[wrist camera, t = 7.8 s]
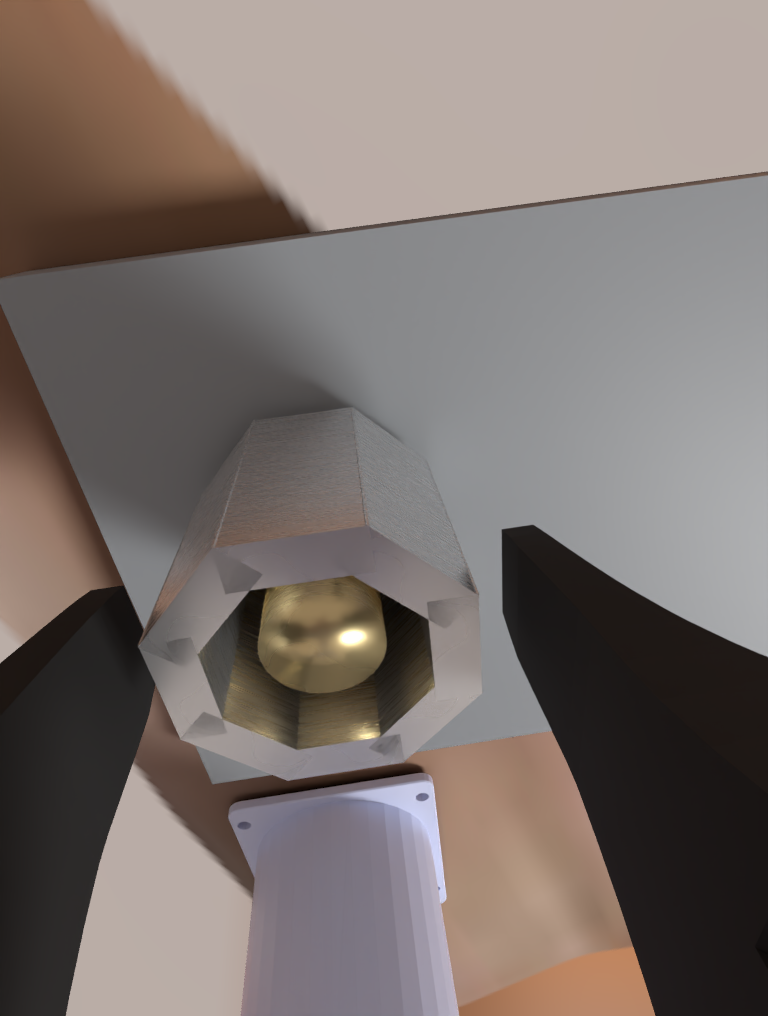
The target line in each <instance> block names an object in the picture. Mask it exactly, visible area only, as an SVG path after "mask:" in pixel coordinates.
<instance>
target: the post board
mask: <svg viewBox="0 0 768 1016" xmlns="http://www.w3.org/2000/svg"><path fill="white" fill-rule="evenodd" d="M0 305H1V307H2V309H3V311H4V314H5V316H6V318H7V320H8V323H9V325H10V327H11V329H12V332H13V334H14V336H15V339H16V341H17V343H18V345H19V348H20V350H21V352H22V354H23V357H24V359H25V361H26V363H27V366H28V368H29V370H30V372H31V375H32V377H33V379H34V382H35V384H36V386H37V388H38V391H39V393H40V395H41V397H42V400H43V402H44V404H45V406H46V409H47V411H48V413H49V415H50V418H51V420H52V422H53V424H54V427H55V429H56V431H57V434H58V436H59V438H60V440H61V443H62V445H63V447H64V449H65V452H66V454H67V456H68V458H69V461H70V463H71V465H72V467H73V470H74V472H75V474H76V477H77V479H78V481H79V483H80V486H81V488H82V490H83V492H84V495H85V497H86V499H87V501H88V504H89V506H90V508H91V510H92V513H93V515H94V517H95V520H96V522H97V524H98V526H99V529H100V531H101V533H102V535H103V538H104V540H105V542H106V544H107V547H108V549H109V551H110V553H111V556H112V558H113V560H114V563H115V565H116V567H117V569H118V572H119V574H120V576H121V578H122V581H123V583H124V585H125V587H126V590H127V592H128V594H129V596H130V599H131V601H132V603H133V606H134V608H135V610H136V612H137V615H138V617H139V619H140V621H141V624H142V626H143V628H144V629H145V627H146V625H147V622H148V620H149V617H150V615H151V613H152V610H153V608H154V606H155V603H156V601H157V598H158V596H159V594H160V591H161V589H162V586H163V584H164V582H165V579H166V577H167V575H168V572H169V570H170V567H171V565H172V563H173V560H174V558H175V555H176V553H177V551H178V548H179V546H180V544H181V541H182V539H183V536H184V534H185V532H186V529H187V527H188V524H189V522H190V520H191V517H192V515H193V513H194V510H195V508H196V505H197V503H198V501H199V498H200V496H201V494H202V491H204V490H205V488H206V487H207V485H208V484H209V483H210V481H211V480H212V478H213V477H214V476H215V474H216V473H217V471H218V470H219V468H220V467H221V466H222V464H223V463H224V461H225V460H226V459H227V457H228V456H229V454H230V453H231V452H232V450H233V449H234V447H235V446H236V444H237V443H238V442H239V440H240V439H241V437H242V436H243V435H244V433H245V432H246V430H247V429H248V428H249V426H250V425H251V423H252V421H253V420H261V419H269V418H276V417H283V416H290V415H297V414H304V413H311V412H318V411H326V410H333V409H340V408H347V407H351V406H352V407H353V408H355V409H356V410H357V411H359V412H360V413H361V414H363V415H364V416H366V417H367V418H368V419H370V420H371V421H373V422H374V423H375V424H377V425H378V426H380V427H381V428H382V429H384V430H385V431H387V432H388V433H389V434H391V435H392V436H394V437H395V438H396V439H398V440H399V441H400V442H402V443H403V444H405V445H406V446H407V447H409V448H410V449H412V450H413V451H414V452H416V453H417V454H419V455H420V456H421V457H423V458H424V459H426V460H427V461H428V464H429V467H430V469H431V472H432V474H433V477H434V479H435V482H436V485H437V487H438V490H439V492H440V495H441V497H442V500H443V503H444V505H445V508H446V510H447V513H448V515H449V518H450V521H451V523H452V526H453V528H454V531H455V533H456V536H457V539H458V541H459V544H460V546H461V549H462V551H463V554H464V557H465V559H466V562H467V564H468V567H469V569H470V572H471V575H472V577H473V580H474V582H475V585H476V587H477V590H478V593H479V595H480V596H479V617H480V646H481V675H482V691H483V693H482V694H481V695H479V696H478V697H477V698H476V699H475V700H474V701H473V702H471V703H470V704H469V705H468V706H467V707H466V708H465V709H464V710H462V711H461V712H460V713H459V714H458V715H457V716H456V717H454V718H453V719H452V720H451V721H450V722H449V723H448V724H446V725H445V726H444V727H443V728H442V729H441V730H440V731H439V732H437V733H436V734H435V735H434V736H433V737H432V738H431V739H429V740H428V741H427V742H426V743H425V744H424V745H423V746H421V747H420V748H419V749H418V750H417V751H416V752H420V751H427V750H433V749H439V748H446V747H452V746H458V745H465V744H471V743H477V742H484V741H490V740H496V739H503V738H509V737H515V736H522V735H528V734H534V733H541V732H547V731H552V730H551V728H550V726H549V723H548V721H547V719H546V717H545V715H544V713H543V711H542V709H541V707H540V705H539V703H538V700H537V698H536V696H535V694H534V692H533V690H532V688H531V686H530V684H529V681H528V679H527V677H526V675H525V673H524V671H523V669H522V667H521V664H520V662H519V660H518V658H517V655H516V652H515V649H514V646H513V643H512V640H511V637H510V634H509V631H508V628H507V625H506V622H505V619H504V615H503V612H502V529H507V528H514V527H520V526H527V525H535V526H536V527H538V528H539V529H541V530H542V531H544V532H545V533H547V534H548V535H550V536H551V537H553V538H554V539H555V540H557V541H558V542H560V543H561V544H563V545H564V546H566V547H567V548H568V549H570V550H571V551H573V552H574V553H576V554H577V555H579V556H580V557H582V558H583V559H585V560H586V561H588V562H589V563H591V564H592V565H594V566H595V567H597V568H598V569H600V570H601V571H603V572H604V573H606V574H607V575H609V576H611V577H612V578H614V579H615V580H617V581H619V582H620V583H622V584H624V585H625V586H627V587H628V588H630V589H632V590H633V591H635V592H637V593H639V594H640V595H642V596H644V597H646V598H647V599H649V600H651V601H653V602H654V603H656V604H658V605H660V606H661V607H663V608H665V609H667V610H669V611H670V612H672V613H674V614H676V615H678V616H680V617H682V618H684V619H686V620H688V621H690V622H692V623H694V624H696V625H698V626H700V627H702V628H704V629H706V630H708V631H711V632H713V633H715V634H717V635H719V636H721V637H723V638H725V639H727V640H729V641H732V642H734V643H736V644H738V645H741V646H743V647H745V648H748V649H750V650H752V651H754V652H757V653H759V654H762V655H764V656H767V657H768V172H761V173H753V174H746V175H738V176H731V177H723V178H716V179H709V180H701V181H694V182H686V183H680V184H671V185H664V186H657V187H650V188H642V189H635V190H628V191H621V192H620V191H619V192H612V193H605V194H598V195H590V196H582V197H575V198H567V199H560V200H553V201H545V202H538V203H530V204H523V205H516V206H508V207H501V208H493V209H486V210H479V211H471V212H463V213H457V214H449V215H442V216H434V217H426V218H419V219H412V220H404V221H397V222H389V223H382V224H375V225H367V226H359V227H352V228H345V229H337V230H330V231H322V232H315V233H307V234H300V235H293V236H285V237H278V238H270V239H263V240H255V241H248V242H241V243H233V244H226V245H218V246H211V247H203V248H196V249H189V250H181V251H174V252H166V253H159V254H151V255H144V256H137V257H129V258H122V259H114V260H107V261H99V262H92V263H85V264H77V265H70V266H62V267H55V268H47V269H40V270H33V271H26V272H22V273H17V274H13V275H9V276H5V277H1V278H0ZM386 648H387V638H386V631H385V624H384V617H383V609H382V602H381V595H380V591H378V590H376V589H375V588H373V587H371V586H369V585H368V584H366V583H364V582H362V581H361V580H359V579H357V578H355V577H354V576H352V575H351V576H345V577H338V578H331V579H324V580H318V581H311V582H304V583H297V584H291V585H284V586H277V587H270V588H266V592H265V599H264V605H263V612H262V618H261V625H260V631H259V638H258V654H259V658H260V661H261V663H262V665H263V666H264V668H265V670H266V671H267V672H268V673H269V674H270V675H271V676H272V677H273V678H274V679H276V680H277V681H279V682H280V683H282V684H284V685H285V686H287V687H290V688H293V689H296V690H299V691H303V692H309V693H331V692H337V691H341V690H345V689H348V688H351V687H353V686H355V685H357V684H359V683H361V682H363V681H364V680H366V679H367V678H368V677H370V676H371V675H372V674H373V673H374V672H375V671H376V670H377V669H378V667H379V666H380V664H381V663H382V661H383V659H384V656H385V653H386ZM195 746H196V745H195ZM196 748H197V750H198V753H199V755H200V757H201V759H202V762H203V764H204V766H205V768H206V771H207V773H208V775H209V777H210V780H211V782H212V784H218V783H224V782H230V781H237V780H243V779H249V778H256V777H262V776H268V775H271V774H269V773H266V772H264V771H261V770H258V769H256V768H253V767H251V766H248V765H245V764H243V763H240V762H238V761H235V760H232V759H230V758H227V757H225V756H222V755H219V754H217V753H214V752H212V751H209V750H206V749H204V748H201V747H199V746H196Z"/></svg>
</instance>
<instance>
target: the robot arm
mask: <svg viewBox="0 0 768 1016" xmlns="http://www.w3.org/2000/svg"><path fill="white" fill-rule="evenodd" d="M502 612H503V615H504V619H505V622H506V625H507V628H508V631H509V634H510V637H511V640H512V643H513V646H514V649H515V652H516V655H517V658H518V660H519V662H520V664H521V667H522V669H523V671H524V673H525V675H526V677H527V679H528V681H529V684H530V686H531V688H532V690H533V692H534V694H535V696H536V698H537V700H538V703H539V705H540V707H541V709H542V711H543V713H544V715H545V717H546V719H547V721H548V723H549V726H550V728H551V730H552V732H553V734H554V736H555V738H556V740H557V742H558V744H559V746H560V749H561V751H562V753H563V755H564V757H565V759H566V761H567V763H568V766H569V768H570V770H571V773H572V775H573V777H574V780H575V782H576V784H577V787H578V789H579V792H580V795H581V798H582V800H583V803H584V806H585V809H586V811H587V814H588V817H589V820H590V822H591V825H592V828H593V830H594V833H595V836H596V839H597V841H598V844H599V847H600V850H601V853H602V856H603V859H604V862H605V864H606V867H607V870H608V873H609V876H610V879H611V882H612V884H613V887H614V890H615V893H616V896H617V899H618V902H619V905H620V908H621V911H622V914H623V917H624V920H625V923H626V926H627V929H628V932H629V935H630V938H631V941H632V944H633V947H634V949H635V953H636V956H637V959H638V962H639V965H640V968H641V971H642V974H643V977H644V980H645V983H646V987H647V990H648V993H649V996H650V999H651V1002H652V1006H653V1009H654V1012H655V1015H656V1016H768V657H767V656H764V655H762V654H759V653H757V652H754V651H752V650H750V649H748V648H745V647H743V646H741V645H738V644H736V643H734V642H732V641H729V640H727V639H725V638H723V637H721V636H719V635H717V634H715V633H713V632H711V631H708V630H706V629H704V628H702V627H700V626H698V625H696V624H694V623H692V622H690V621H688V620H686V619H684V618H682V617H680V616H678V615H676V614H674V613H672V612H670V611H669V610H667V609H665V608H663V607H661V606H660V605H658V604H656V603H654V602H653V601H651V600H649V599H647V598H646V597H644V596H642V595H640V594H639V593H637V592H635V591H633V590H632V589H630V588H628V587H627V586H625V585H624V584H622V583H620V582H619V581H617V580H615V579H614V578H612V577H611V576H609V575H607V574H606V573H604V572H603V571H601V570H600V569H598V568H597V567H595V566H594V565H592V564H591V563H589V562H588V561H586V560H585V559H583V558H582V557H580V556H579V555H577V554H576V553H574V552H573V551H571V550H570V549H568V548H567V547H566V546H564V545H563V544H561V543H560V542H558V541H557V540H555V539H554V538H553V537H551V536H550V535H548V534H547V533H545V532H544V531H542V530H541V529H539V528H538V527H536V526H535V525H527V526H520V527H514V528H507V529H502ZM143 632H144V631H143V629H142V626H141V624H140V622H139V620H138V617H137V615H136V613H135V611H134V608H133V606H132V604H131V601H130V599H129V597H128V595H127V592H126V590H125V588H124V586H117V587H111V588H104V589H97V590H91V591H90V592H88V593H87V594H85V595H84V596H82V597H81V598H80V599H78V600H77V601H76V602H74V603H73V604H72V605H70V606H69V607H68V608H67V609H65V610H64V611H63V612H62V613H60V614H59V615H58V616H57V617H56V618H54V619H53V620H52V621H51V622H49V623H48V624H47V625H46V626H45V627H43V628H42V629H41V630H40V631H39V632H37V633H36V634H35V635H34V636H33V637H31V638H30V639H29V640H28V641H27V642H25V643H24V644H23V645H22V646H21V647H19V648H18V649H17V650H16V651H15V652H13V653H12V654H11V655H10V656H8V657H7V658H6V659H5V660H4V661H3V662H1V663H0V1016H66V1011H67V1006H68V1000H69V995H70V990H71V986H72V980H73V976H74V971H75V967H76V962H77V957H78V953H79V948H80V943H81V939H82V934H83V928H84V925H85V920H86V916H87V912H88V908H89V904H90V899H91V895H92V891H93V887H94V883H95V879H96V875H97V870H98V866H99V862H100V859H101V856H102V852H103V849H104V846H105V843H106V839H107V836H108V833H109V830H110V827H111V824H112V821H113V818H114V816H115V812H116V810H117V807H118V804H119V801H120V798H121V795H122V792H123V790H124V787H125V784H126V781H127V778H128V775H129V772H130V769H131V767H132V764H133V761H134V758H135V755H136V752H137V749H138V746H139V743H140V740H141V737H142V734H143V731H144V728H145V725H146V722H147V719H148V716H149V712H150V707H151V702H152V697H153V693H154V687H155V682H154V680H153V678H152V675H151V673H150V671H149V669H148V667H147V664H146V662H145V660H144V658H143V656H142V654H141V651H140V649H139V648H138V644H139V641H140V639H141V637H142V634H143ZM228 819H229V821H230V824H231V826H232V828H233V830H234V833H235V835H236V837H237V839H238V842H239V844H240V846H241V848H242V851H243V853H244V855H245V858H246V860H247V862H248V864H249V867H250V869H251V871H252V873H253V876H254V878H255V882H254V892H253V902H252V912H251V921H250V931H249V940H248V951H247V960H246V969H245V979H244V988H243V999H242V1008H241V1016H459V1012H458V1006H457V1000H456V994H455V988H454V982H453V976H452V969H451V963H450V957H449V951H448V945H447V939H446V933H445V927H444V921H443V914H442V908H441V904H442V903H443V902H444V901H445V900H446V890H445V881H444V872H443V864H442V855H441V846H440V837H439V829H438V820H437V811H436V802H435V794H434V785H433V780H432V777H431V776H430V775H428V774H426V773H415V774H409V775H403V776H396V777H390V778H384V779H377V780H371V781H365V782H358V783H352V784H346V785H340V786H333V787H327V788H321V789H314V790H308V791H302V792H296V793H289V794H283V795H277V796H270V797H264V798H258V799H251V800H245V801H239V802H236V803H234V804H233V805H231V807H230V808H229V814H228Z"/></svg>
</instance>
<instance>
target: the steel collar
mask: <svg viewBox="0 0 768 1016" xmlns="http://www.w3.org/2000/svg"><path fill="white" fill-rule="evenodd" d="M351 575H352V576H354V577H355V578H357V579H359V580H361V581H362V582H364V583H366V584H368V585H369V586H371V587H373V588H375V589H376V590H378V591H380V595H381V602H382V609H383V617H384V624H385V631H386V638H387V648H386V653H385V656H384V659H383V661H382V663H381V664H380V666H379V667H378V669H377V670H376V671H375V672H374V673H373V674H372V675H371V676H370V677H368V678H367V679H366V680H364V681H363V682H361V683H359V684H357V685H355V686H353V687H351V688H348V689H345V690H341V691H337V692H331V693H309V692H303V691H299V690H296V689H293V688H290V687H287V686H285V685H284V684H282V683H280V682H279V681H277V680H276V679H274V678H273V677H272V676H271V675H270V674H269V673H268V672H267V671H266V670H265V668H264V666H263V665H262V663H261V661H260V658H259V654H258V638H259V631H260V625H261V618H262V612H263V605H264V599H265V592H266V588H270V587H277V586H284V585H291V584H297V583H304V582H311V581H318V580H324V579H331V578H338V577H345V576H351ZM479 596H480V595H479V593H478V590H477V587H476V585H475V582H474V580H473V577H472V575H471V572H470V569H469V567H468V564H467V562H466V559H465V557H464V554H463V551H462V549H461V546H460V544H459V541H458V539H457V536H456V533H455V531H454V528H453V526H452V523H451V521H450V518H449V515H448V513H447V510H446V508H445V505H444V503H443V500H442V497H441V495H440V492H439V490H438V487H437V485H436V482H435V479H434V477H433V474H432V472H431V469H430V467H429V464H428V461H427V460H426V459H424V458H423V457H421V456H420V455H419V454H417V453H416V452H414V451H413V450H412V449H410V448H409V447H407V446H406V445H405V444H403V443H402V442H400V441H399V440H398V439H396V438H395V437H394V436H392V435H391V434H389V433H388V432H387V431H385V430H384V429H382V428H381V427H380V426H378V425H377V424H375V423H374V422H373V421H371V420H370V419H368V418H367V417H366V416H364V415H363V414H361V413H360V412H359V411H357V410H356V409H355V408H353V407H352V406H351V407H347V408H340V409H333V410H326V411H318V412H311V413H304V414H297V415H290V416H283V417H276V418H269V419H261V420H253V421H252V423H251V425H250V426H249V428H248V429H247V430H246V432H245V433H244V435H243V436H242V437H241V439H240V440H239V442H238V443H237V444H236V446H235V447H234V449H233V450H232V452H231V453H230V454H229V456H228V457H227V459H226V460H225V461H224V463H223V464H222V466H221V467H220V468H219V470H218V471H217V473H216V474H215V476H214V477H213V478H212V480H211V481H210V483H209V484H208V485H207V487H206V488H205V490H204V491H202V494H201V496H200V498H199V501H198V503H197V505H196V508H195V510H194V513H193V515H192V517H191V520H190V522H189V524H188V527H187V529H186V532H185V534H184V536H183V539H182V541H181V544H180V546H179V548H178V551H177V553H176V555H175V558H174V560H173V563H172V565H171V567H170V570H169V572H168V575H167V577H166V579H165V582H164V584H163V586H162V589H161V591H160V594H159V596H158V598H157V601H156V603H155V606H154V608H153V610H152V613H151V615H150V617H149V620H148V622H147V625H146V627H145V629H144V632H143V634H142V637H141V639H140V641H139V644H138V648H139V649H140V651H141V654H142V656H143V658H144V660H145V662H146V664H147V667H148V669H149V671H150V673H151V675H152V678H153V680H154V682H155V684H156V686H157V689H158V691H159V693H160V695H161V697H162V700H163V702H164V704H165V706H166V708H167V711H168V713H169V715H170V717H171V719H172V722H173V724H174V726H175V728H176V730H177V733H178V735H179V737H180V740H183V741H185V742H188V743H191V744H193V745H196V746H199V747H201V748H204V749H206V750H209V751H212V752H214V753H217V754H219V755H222V756H225V757H227V758H230V759H232V760H235V761H238V762H240V763H243V764H245V765H248V766H251V767H253V768H256V769H258V770H261V771H264V772H266V773H269V774H271V775H274V776H277V777H279V778H282V779H285V780H286V781H289V780H295V779H302V778H308V777H314V776H321V775H327V774H334V773H340V772H346V771H353V770H359V769H365V768H372V767H378V766H384V765H391V764H397V763H404V761H406V760H407V759H408V758H409V757H410V756H411V755H412V754H413V753H415V752H416V751H417V750H418V749H419V748H420V747H421V746H423V745H424V744H425V743H426V742H427V741H428V740H429V739H431V738H432V737H433V736H434V735H435V734H436V733H437V732H439V731H440V730H441V729H442V728H443V727H444V726H445V725H446V724H448V723H449V722H450V721H451V720H452V719H453V718H454V717H456V716H457V715H458V714H459V713H460V712H461V711H462V710H464V709H465V708H466V707H467V706H468V705H469V704H470V703H471V702H473V701H474V700H475V699H476V698H477V697H478V696H479V695H481V694H482V693H483V691H482V675H481V646H480V617H479Z"/></svg>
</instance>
